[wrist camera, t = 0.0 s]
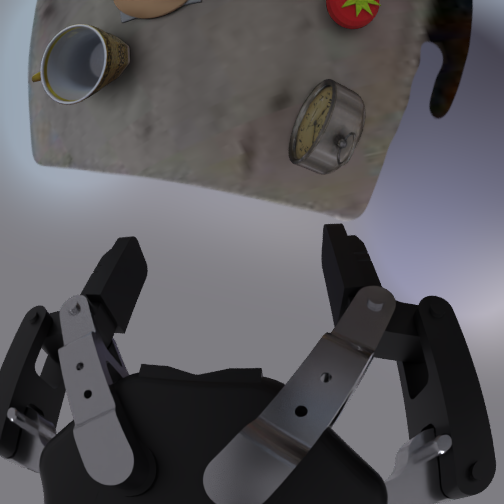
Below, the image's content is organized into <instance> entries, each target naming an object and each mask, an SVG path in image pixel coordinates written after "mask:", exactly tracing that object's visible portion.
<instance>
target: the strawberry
mask: <svg viewBox="0 0 504 504" xmlns="http://www.w3.org/2000/svg"><path fill="white" fill-rule="evenodd" d="M326 6H327V10H328V13H329V15H330V16H331V18H332V19H333V20H334V21H335V22H336V23H337V24H339V25H340V26H342V27H345V28H349V29H358V28H361V27H364V26H366V25H367V24H368V23H370V22H371V21H372V20H373V18H374V17H375V16H376V14H377V12H378V9H379V6H381V5H380V4H379V0H326Z"/></svg>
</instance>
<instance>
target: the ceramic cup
mask: <svg viewBox="0 0 504 504" xmlns="http://www.w3.org/2000/svg"><path fill="white" fill-rule="evenodd" d="M129 63H130V47H129V46H128V45H127V44H126V43H125V42H123V41H122V40H121V39H119V38H118V37H116V36H114V35H111V34H109V33H106V32H104V31H103V30H101V29H99V28H96V27H94V26H90V25H85V24H77V25H72V26H69V27H67V28H65V29H64V30H62V31H61V32H59V33H58V34H57V35H56V36H55V37H54V38H53V39H52V40H51V42H50V43H49V45H48V46H47V48H46V50H45V53H44V55H43V58H42V62H41V72H38V73H37V74H35V75H34V76H33V77H32V81H33V82H37V81H42V84H43V87H44V89H45V91H46V93H47V94H48V95H49V97H50V98H51V99H53V100H54V101H56V102H58V103H60V104H65V105H71V104H76V103H79V102H81V101H83V100H85V99H87V98H88V97H90V96H92V95H93V94H95V93H96V92H98V91H99V90H100V89H101V88H103V87H104V86H106V85H107V84H109V83H110V82H112V81H113V80H115V79H117V78H118V77H119V76H120V75H121V73H122V72H123V71H124V69H125V68H126V67H127V66H128V64H129Z"/></svg>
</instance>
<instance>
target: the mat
mask: <svg viewBox="0 0 504 504" xmlns="http://www.w3.org/2000/svg"><path fill="white" fill-rule="evenodd" d="M198 2H201V0H188V1H187V2H186V3H185V4H184V5H188V4H193V3H198ZM182 6H183V5H182ZM120 14H121V22H122V23H124V22H127V21H130V20H133V19H136V17H132V16H129V15H126V14H125V13H123V12H122V11H120Z"/></svg>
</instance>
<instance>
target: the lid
mask: <svg viewBox="0 0 504 504" xmlns="http://www.w3.org/2000/svg"><path fill="white" fill-rule="evenodd" d="M187 1H188V0H114V3H115V5H116V6H117V8H118V9H119V10H120V11H122V12H123V13H125V14H126V15H129V16H132V17H136V18H142V19H149V18H156V17H161V16H164V15H166V14H169V13H171V12H173V11H175V10H177V9H178V8H180V7H181V6H182V5H184V4H185V3H186V2H187Z"/></svg>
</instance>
